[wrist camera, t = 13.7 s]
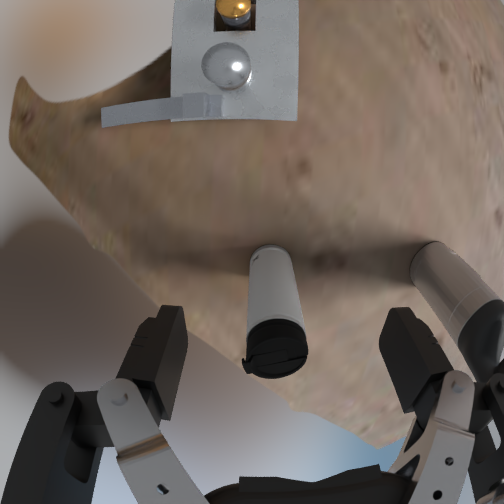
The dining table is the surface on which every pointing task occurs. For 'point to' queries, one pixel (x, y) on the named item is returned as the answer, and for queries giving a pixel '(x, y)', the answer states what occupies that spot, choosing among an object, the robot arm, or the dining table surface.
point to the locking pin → (235, 14)
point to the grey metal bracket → (225, 68)
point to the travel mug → (274, 316)
